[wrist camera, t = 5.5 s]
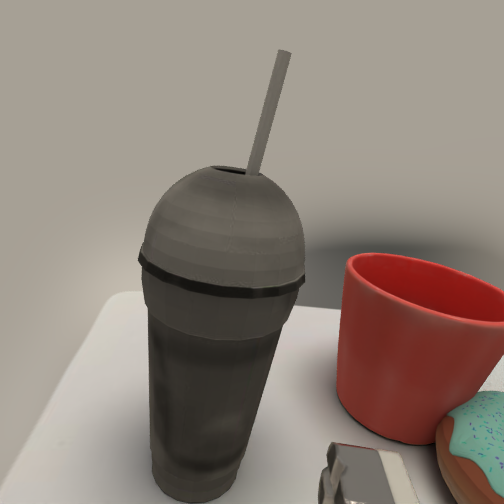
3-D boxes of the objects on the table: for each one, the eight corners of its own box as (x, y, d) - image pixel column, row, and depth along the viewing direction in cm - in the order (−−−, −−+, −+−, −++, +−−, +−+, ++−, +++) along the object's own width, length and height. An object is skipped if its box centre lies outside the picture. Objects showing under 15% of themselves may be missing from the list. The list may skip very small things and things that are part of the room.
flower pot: (461, 388, 31) (504, 277, 28) (484, 499, 21) (554, 344, 18) (332, 345, 34) (358, 241, 31) (299, 423, 25) (332, 282, 22)
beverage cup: (166, 400, 25) (201, 56, 19) (276, 437, 23) (355, 75, 17) (91, 496, 18) (108, 6, 12) (240, 558, 16) (348, 31, 10)
